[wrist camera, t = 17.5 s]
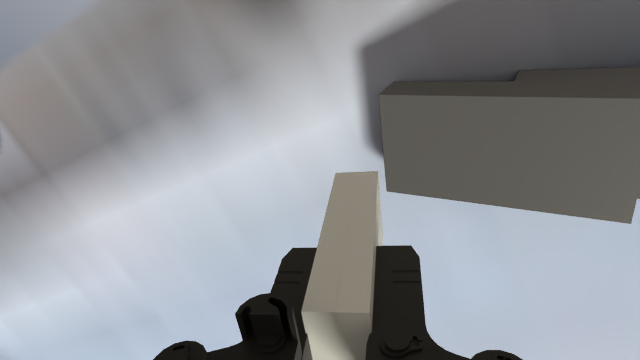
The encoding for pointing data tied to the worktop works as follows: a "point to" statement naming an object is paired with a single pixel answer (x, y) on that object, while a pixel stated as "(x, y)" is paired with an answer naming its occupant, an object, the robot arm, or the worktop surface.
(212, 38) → the worktop surface
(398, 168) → the domino
